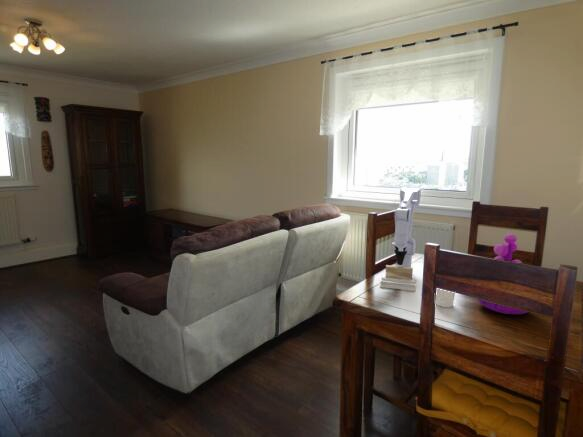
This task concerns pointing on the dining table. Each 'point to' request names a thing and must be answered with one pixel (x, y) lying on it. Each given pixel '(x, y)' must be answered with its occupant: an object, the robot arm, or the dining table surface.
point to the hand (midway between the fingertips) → (399, 262)
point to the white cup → (444, 298)
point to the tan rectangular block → (399, 272)
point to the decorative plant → (502, 251)
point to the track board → (398, 284)
